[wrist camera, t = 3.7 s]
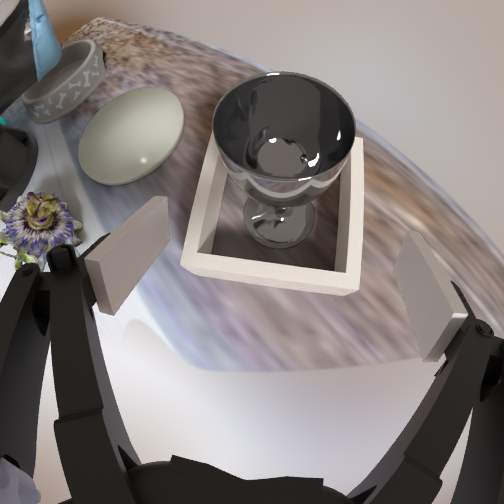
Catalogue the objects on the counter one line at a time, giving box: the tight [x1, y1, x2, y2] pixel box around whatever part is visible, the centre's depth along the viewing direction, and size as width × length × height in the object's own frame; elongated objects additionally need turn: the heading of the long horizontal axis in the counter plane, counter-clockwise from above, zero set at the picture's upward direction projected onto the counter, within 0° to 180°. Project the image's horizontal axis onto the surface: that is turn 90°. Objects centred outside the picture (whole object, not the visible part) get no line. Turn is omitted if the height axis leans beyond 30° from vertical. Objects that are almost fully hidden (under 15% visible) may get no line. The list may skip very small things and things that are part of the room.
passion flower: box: [0, 189, 83, 272], centre depth 27 cm, size 11×11×12 cm
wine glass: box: [212, 72, 356, 249], centre depth 22 cm, size 8×8×15 cm
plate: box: [78, 87, 185, 186], centre depth 32 cm, size 15×15×1 cm
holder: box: [180, 130, 364, 296], centre depth 27 cm, size 14×14×5 cm
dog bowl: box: [21, 39, 107, 124], centre depth 36 cm, size 17×18×5 cm
